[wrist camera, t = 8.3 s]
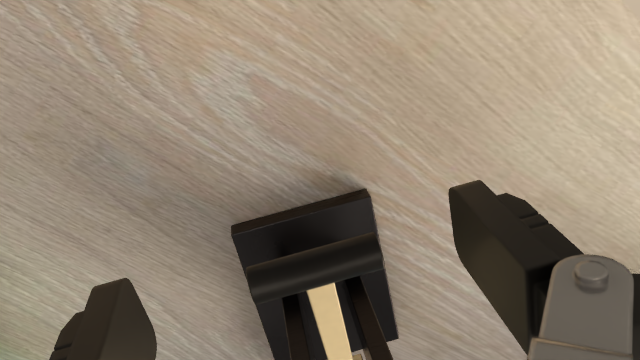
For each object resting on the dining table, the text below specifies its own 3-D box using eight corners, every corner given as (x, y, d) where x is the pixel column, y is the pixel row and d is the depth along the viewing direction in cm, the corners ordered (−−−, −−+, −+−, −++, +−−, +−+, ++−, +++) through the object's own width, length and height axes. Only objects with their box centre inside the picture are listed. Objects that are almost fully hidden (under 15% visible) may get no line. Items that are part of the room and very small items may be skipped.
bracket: (230, 225, 34) (232, 357, 23) (366, 188, 34) (429, 300, 23) (277, 361, 39) (297, 520, 28) (394, 327, 39) (456, 471, 29)
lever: (242, 250, 20) (250, 302, 18) (368, 215, 20) (387, 263, 19) (303, 395, 29) (312, 439, 27) (389, 369, 29) (404, 411, 28)
